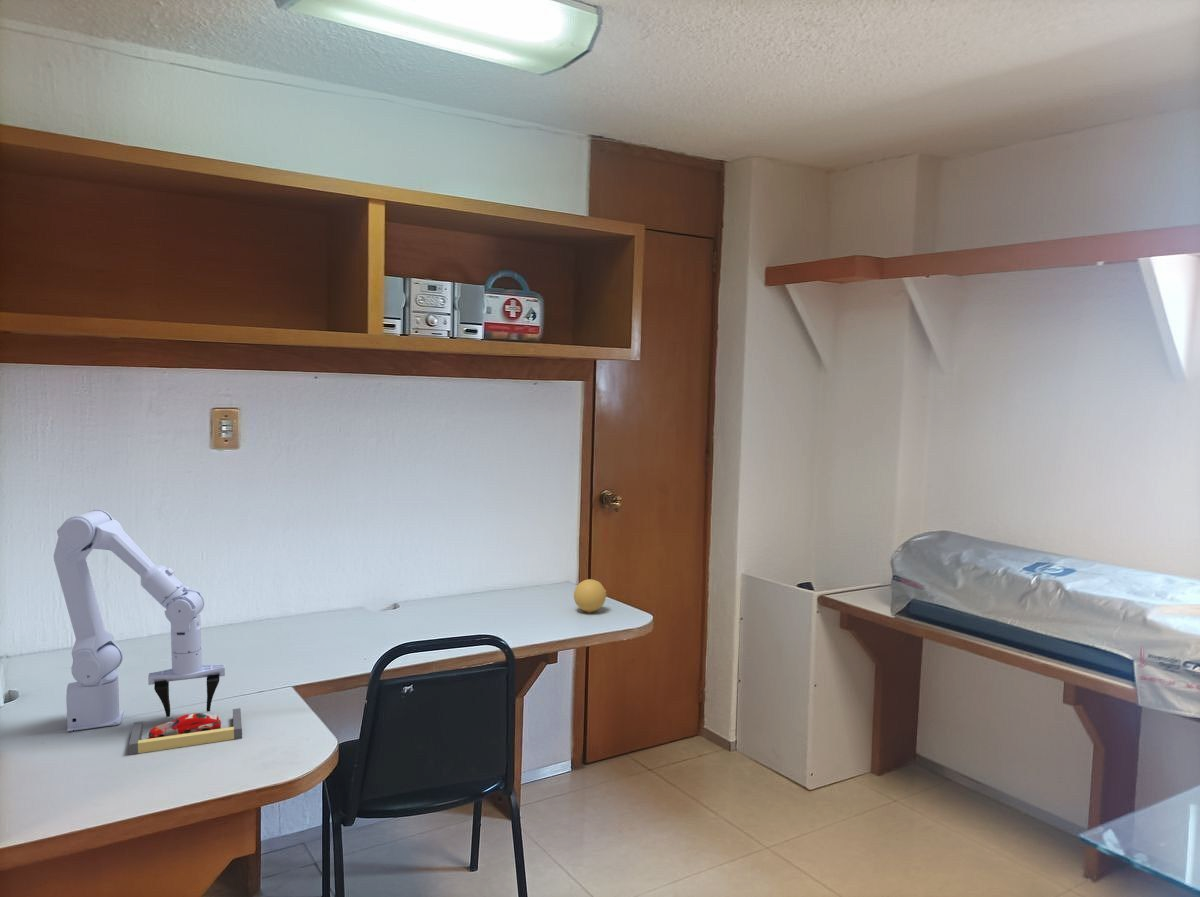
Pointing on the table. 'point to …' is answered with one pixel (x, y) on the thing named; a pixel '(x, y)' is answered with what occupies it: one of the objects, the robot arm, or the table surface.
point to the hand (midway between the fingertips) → (188, 712)
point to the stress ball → (589, 595)
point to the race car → (186, 725)
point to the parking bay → (184, 737)
